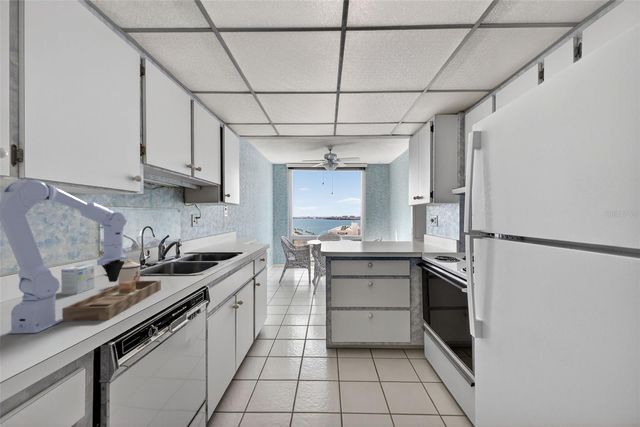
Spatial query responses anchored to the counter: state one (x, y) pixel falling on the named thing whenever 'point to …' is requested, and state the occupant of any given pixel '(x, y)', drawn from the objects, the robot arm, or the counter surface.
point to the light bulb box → (77, 279)
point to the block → (127, 287)
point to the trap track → (109, 302)
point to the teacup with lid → (129, 272)
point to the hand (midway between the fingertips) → (113, 281)
